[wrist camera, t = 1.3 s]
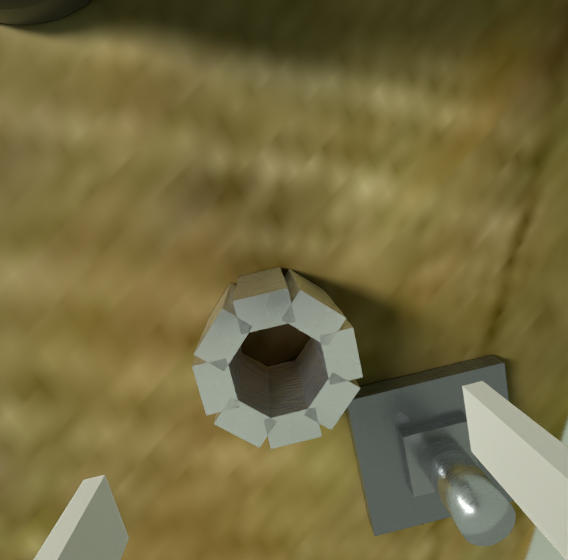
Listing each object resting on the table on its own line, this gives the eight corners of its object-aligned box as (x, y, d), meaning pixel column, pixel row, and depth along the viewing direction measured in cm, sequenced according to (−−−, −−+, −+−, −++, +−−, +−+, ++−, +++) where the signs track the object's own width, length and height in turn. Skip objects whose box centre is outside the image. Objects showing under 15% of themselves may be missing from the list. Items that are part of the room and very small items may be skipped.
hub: (197, 286, 27) (176, 314, 20) (320, 257, 27) (342, 275, 20) (228, 400, 29) (220, 461, 22) (344, 372, 29) (372, 423, 22)
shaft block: (342, 391, 29) (373, 459, 21) (492, 354, 29) (577, 408, 22) (369, 520, 32) (406, 624, 24) (507, 485, 32) (589, 577, 24)
